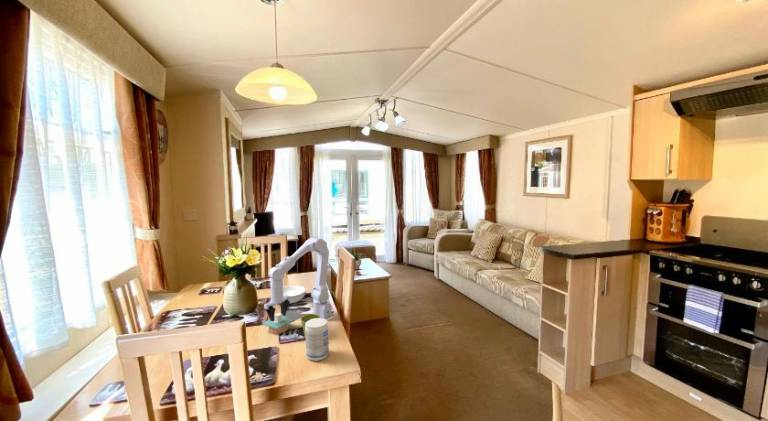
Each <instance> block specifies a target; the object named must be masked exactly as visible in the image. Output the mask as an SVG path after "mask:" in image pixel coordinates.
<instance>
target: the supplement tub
mask: <svg viewBox="0 0 768 421" xmlns="http://www.w3.org/2000/svg"><path fill="white" fill-rule="evenodd" d="M305 336H306V337H305ZM305 336H304V337H305V356H306V358H307V359H308V360H309V361H312V362H313V361H314V362H318V361H323V360H325V359H326V358H327V357H328V356H329V353H330V352H329V351H330V349H329V348H330V347H329V322H328V319H327V320H326V319H323V318H315V319H311V320H309V321H307V322H306V324H305Z"/></svg>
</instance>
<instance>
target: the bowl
mask: <svg viewBox="0 0 768 421" xmlns="http://www.w3.org/2000/svg"><path fill="white" fill-rule="evenodd" d="M288 329H289V324H287V325H285V326H283V327H281V328H279V329H274V328H271V327H268V332H269V333H270V334H274V335H279V334H282V333H285V332H287V331H288Z"/></svg>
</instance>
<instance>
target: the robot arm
mask: <svg viewBox="0 0 768 421" xmlns="http://www.w3.org/2000/svg"><path fill="white" fill-rule="evenodd" d="M308 252H316V253H317V255H318V258H317V267H316V275H315V276H316V278H315V283H314V284H313V287H312V289H311V292H310V296H311V298H312V299H313V301H312V302H313V303H312V305H313V306H312V307H313V314H317V315H319V316H320V318H323V319H326V320H327V321H328V320H329V319H330V318H332V317H333V314H332V313H333V312H332V311H333V310H332V304H331V303H329V302H328V300H329V298H330V295H329V288H328V285H327V278H328V266H329V257H330V250H329V248H328V243H327V241H326V240H324V239H322V238H319V237H315V236H311V237H309V238H308V239H307V240H305V241H304V243H303V244H302V245H301V246H300V247H299V248H298V249H297V250H296V251H295V252H294V253H293V254H292V255H291V256H286V257H283V258H282V260H281V261H280V262H279V263H278V264H275V266H273V267H271V268H270V269H269V271H268V273H267V275H268V277H269V279H270V292H271V294H270V301H268V302H266V303H265V304H264V305H263V308H264V310H265V311H266V313H267V315H268V317H269V319H270V321H274V315H275V314H276V313H275V312H276V310H277V309H276V308H275V307H274V306H276V305H278V304H279V305H280V313H281V314H282V315H283V316H286V311H288V307H289V306H290V304H291V303H290V301H288V300H290V296H288V295H286V296H283V286H284V285H283V284H284V283H283V279H284V277H285V275H286V273H287V272H289V271H290V270H291V269H292V268H293V267H294V266H295V265H296V261H298V260H299V259H300V258H301V257H303V256H304V255H305V254H306V253H308Z"/></svg>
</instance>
